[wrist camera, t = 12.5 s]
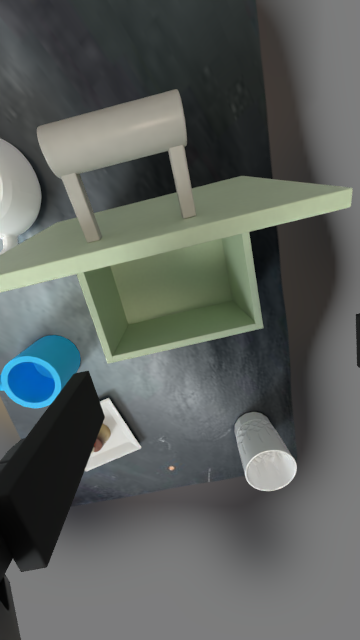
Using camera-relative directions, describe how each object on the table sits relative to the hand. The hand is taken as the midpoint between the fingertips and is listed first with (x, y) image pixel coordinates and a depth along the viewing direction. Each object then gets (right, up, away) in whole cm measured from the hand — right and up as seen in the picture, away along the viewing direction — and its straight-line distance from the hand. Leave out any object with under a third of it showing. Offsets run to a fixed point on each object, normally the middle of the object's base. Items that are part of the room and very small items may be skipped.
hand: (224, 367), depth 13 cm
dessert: (-17, -18, +36) cm, 44 cm away
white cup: (+11, -18, +37) cm, 42 cm away
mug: (-25, -4, +32) cm, 41 cm away
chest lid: (-4, +9, +6) cm, 12 cm away
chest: (-4, +10, +28) cm, 30 cm away
